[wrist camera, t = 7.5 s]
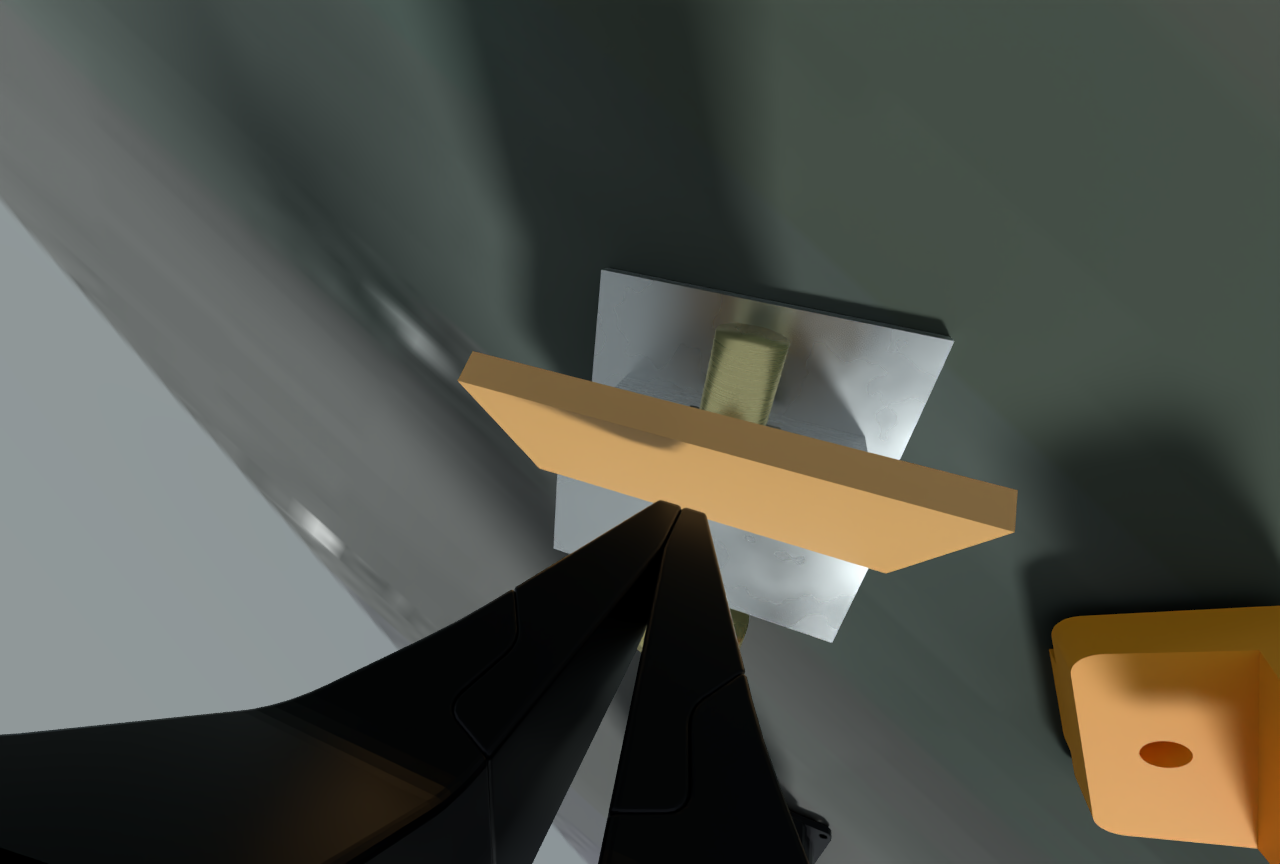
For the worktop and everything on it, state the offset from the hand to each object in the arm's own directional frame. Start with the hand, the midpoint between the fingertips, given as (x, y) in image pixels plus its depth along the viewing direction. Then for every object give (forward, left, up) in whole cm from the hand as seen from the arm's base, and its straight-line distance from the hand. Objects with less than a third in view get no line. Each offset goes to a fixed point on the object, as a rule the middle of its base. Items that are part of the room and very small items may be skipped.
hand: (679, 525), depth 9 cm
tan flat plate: (-1, 0, -4) cm, 4 cm away
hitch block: (-4, 0, -13) cm, 13 cm away
